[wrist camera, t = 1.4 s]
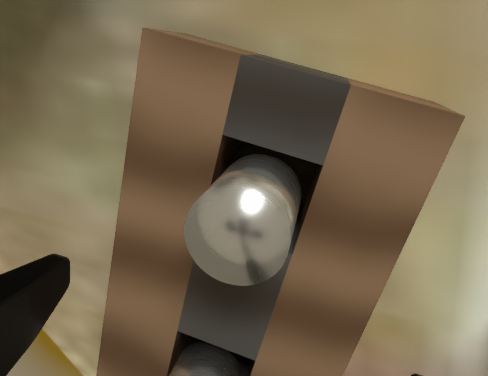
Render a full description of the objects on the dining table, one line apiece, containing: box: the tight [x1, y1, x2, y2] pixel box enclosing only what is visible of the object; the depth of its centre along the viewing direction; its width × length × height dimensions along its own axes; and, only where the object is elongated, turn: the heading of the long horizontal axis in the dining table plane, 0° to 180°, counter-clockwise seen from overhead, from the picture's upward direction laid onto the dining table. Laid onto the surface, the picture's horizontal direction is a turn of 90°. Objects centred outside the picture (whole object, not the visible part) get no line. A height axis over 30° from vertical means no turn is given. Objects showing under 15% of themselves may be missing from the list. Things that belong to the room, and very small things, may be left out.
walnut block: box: [96, 28, 465, 376], centre depth 23 cm, size 24×14×5 cm, turn 166°
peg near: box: [184, 153, 301, 286], centre depth 16 cm, size 4×4×5 cm
